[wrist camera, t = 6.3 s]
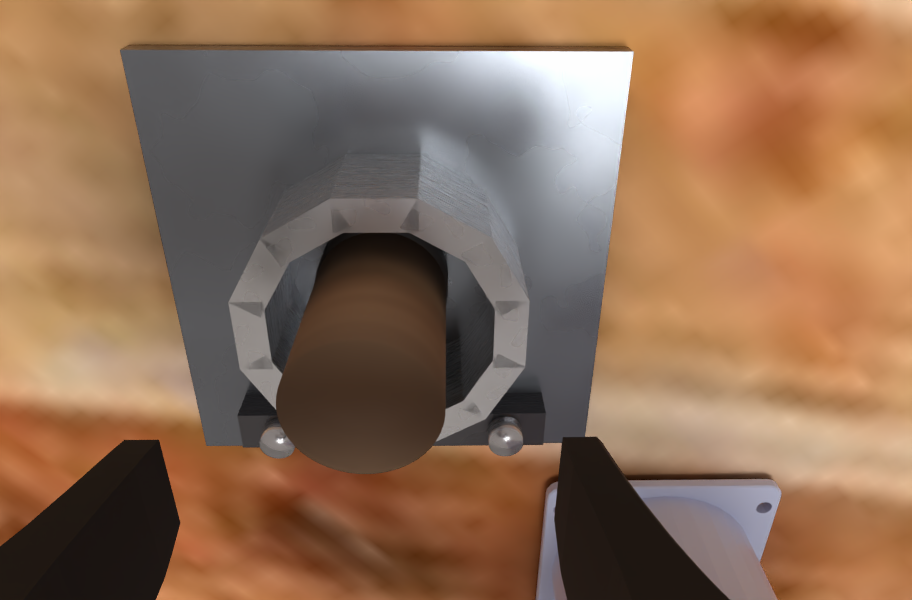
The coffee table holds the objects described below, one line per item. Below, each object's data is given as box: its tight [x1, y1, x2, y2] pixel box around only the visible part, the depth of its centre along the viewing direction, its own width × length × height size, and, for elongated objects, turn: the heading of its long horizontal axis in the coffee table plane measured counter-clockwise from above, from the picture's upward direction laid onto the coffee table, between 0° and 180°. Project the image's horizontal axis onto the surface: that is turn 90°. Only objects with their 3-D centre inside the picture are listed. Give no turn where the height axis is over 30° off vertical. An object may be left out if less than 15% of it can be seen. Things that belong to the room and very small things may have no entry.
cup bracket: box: [120, 45, 634, 458], centre depth 18 cm, size 12×12×4 cm
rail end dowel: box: [276, 233, 448, 474], centre depth 17 cm, size 4×4×6 cm
